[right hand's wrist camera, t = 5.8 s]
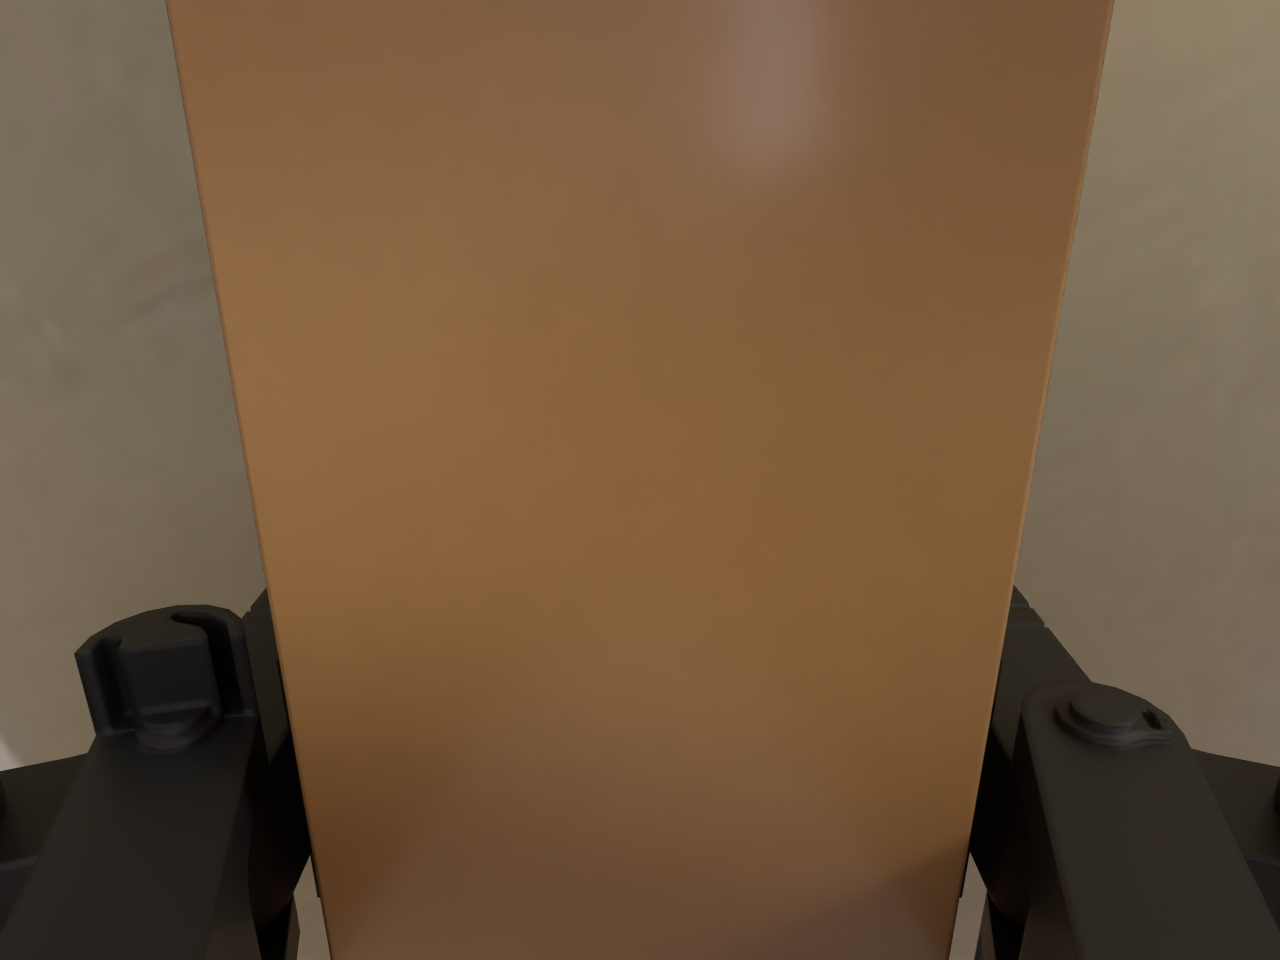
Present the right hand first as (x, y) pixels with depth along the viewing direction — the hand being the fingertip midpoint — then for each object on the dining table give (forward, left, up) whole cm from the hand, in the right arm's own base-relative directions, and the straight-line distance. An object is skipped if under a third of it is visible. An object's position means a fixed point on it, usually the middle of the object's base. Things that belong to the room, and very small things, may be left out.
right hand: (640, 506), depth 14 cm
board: (-21, -5, -1) cm, 22 cm away
